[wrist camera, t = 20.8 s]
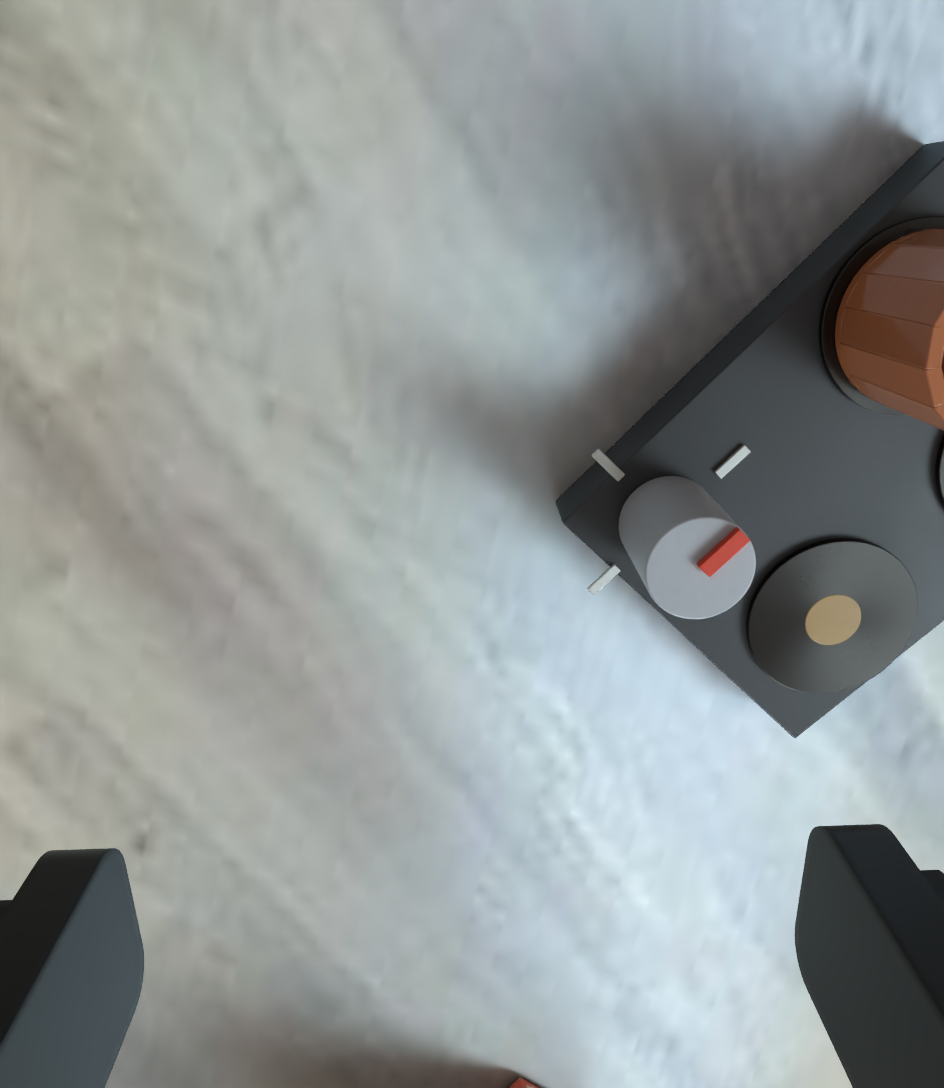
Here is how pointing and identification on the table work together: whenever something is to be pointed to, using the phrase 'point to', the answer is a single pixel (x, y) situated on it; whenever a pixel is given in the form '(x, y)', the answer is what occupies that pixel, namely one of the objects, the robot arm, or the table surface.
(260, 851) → the table surface
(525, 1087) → the cracker box
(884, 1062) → the robot arm
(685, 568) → the hob knob
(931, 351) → the copper pot
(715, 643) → the hob
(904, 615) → the burners
